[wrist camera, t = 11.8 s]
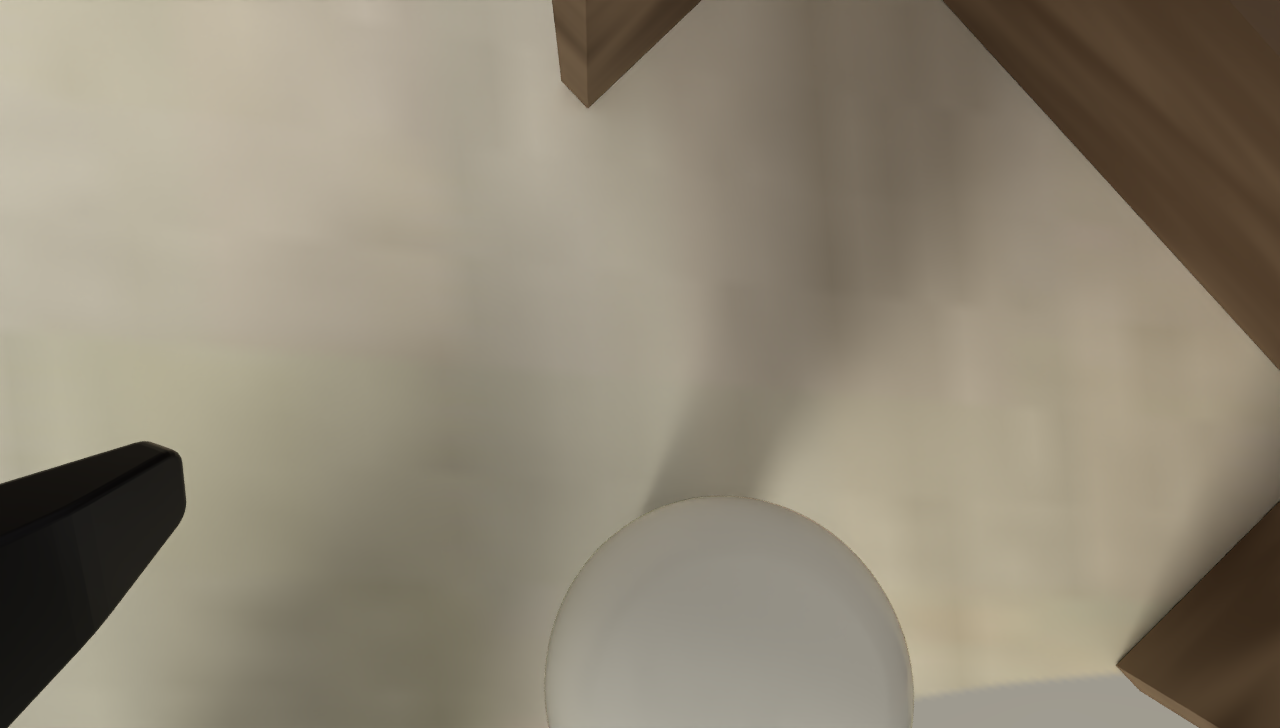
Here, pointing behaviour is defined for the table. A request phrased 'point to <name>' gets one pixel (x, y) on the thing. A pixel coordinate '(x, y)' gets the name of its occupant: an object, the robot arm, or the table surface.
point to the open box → (1164, 199)
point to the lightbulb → (726, 627)
